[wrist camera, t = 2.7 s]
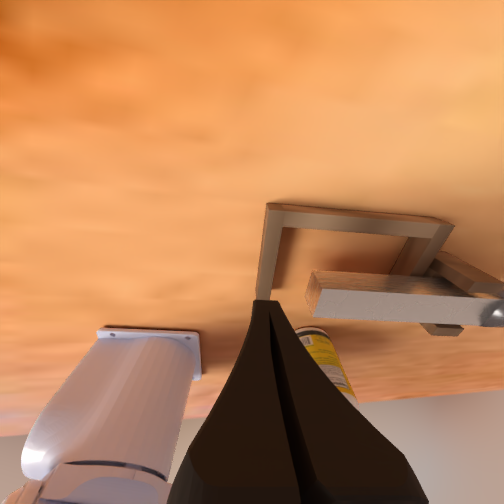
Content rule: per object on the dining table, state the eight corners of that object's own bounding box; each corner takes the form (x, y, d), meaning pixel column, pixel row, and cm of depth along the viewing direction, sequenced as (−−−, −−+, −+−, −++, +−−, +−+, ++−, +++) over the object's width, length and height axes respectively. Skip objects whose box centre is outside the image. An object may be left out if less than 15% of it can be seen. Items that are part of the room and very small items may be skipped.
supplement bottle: (318, 357, 21) (355, 468, 14) (277, 351, 21) (294, 464, 13) (337, 328, 19) (393, 443, 12) (292, 321, 18) (322, 437, 11)
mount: (255, 289, 16) (257, 328, 13) (266, 202, 13) (273, 223, 9) (414, 298, 17) (456, 337, 14) (466, 220, 14) (541, 245, 10)
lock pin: (301, 294, 15) (313, 328, 12) (311, 260, 13) (328, 290, 11) (455, 303, 16) (500, 337, 13) (481, 272, 14) (538, 302, 11)
